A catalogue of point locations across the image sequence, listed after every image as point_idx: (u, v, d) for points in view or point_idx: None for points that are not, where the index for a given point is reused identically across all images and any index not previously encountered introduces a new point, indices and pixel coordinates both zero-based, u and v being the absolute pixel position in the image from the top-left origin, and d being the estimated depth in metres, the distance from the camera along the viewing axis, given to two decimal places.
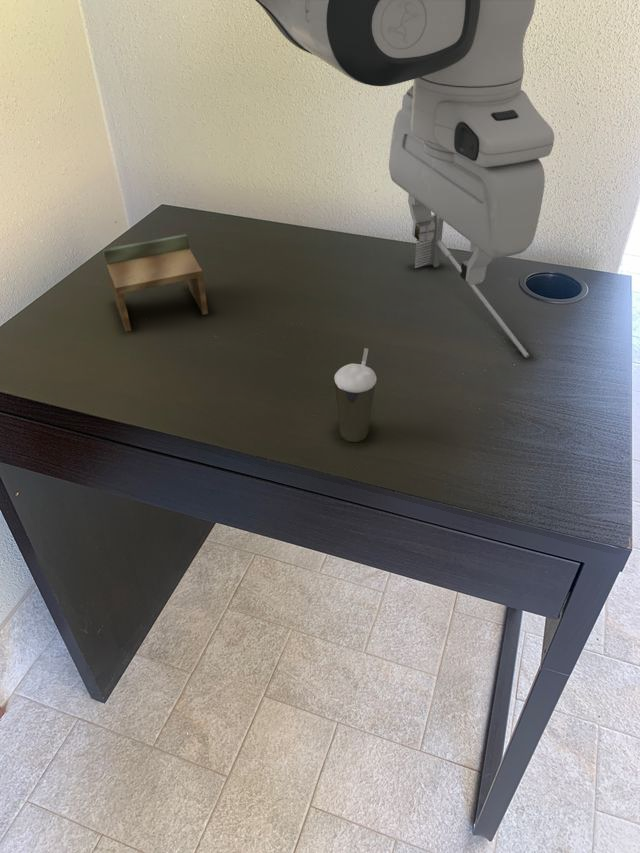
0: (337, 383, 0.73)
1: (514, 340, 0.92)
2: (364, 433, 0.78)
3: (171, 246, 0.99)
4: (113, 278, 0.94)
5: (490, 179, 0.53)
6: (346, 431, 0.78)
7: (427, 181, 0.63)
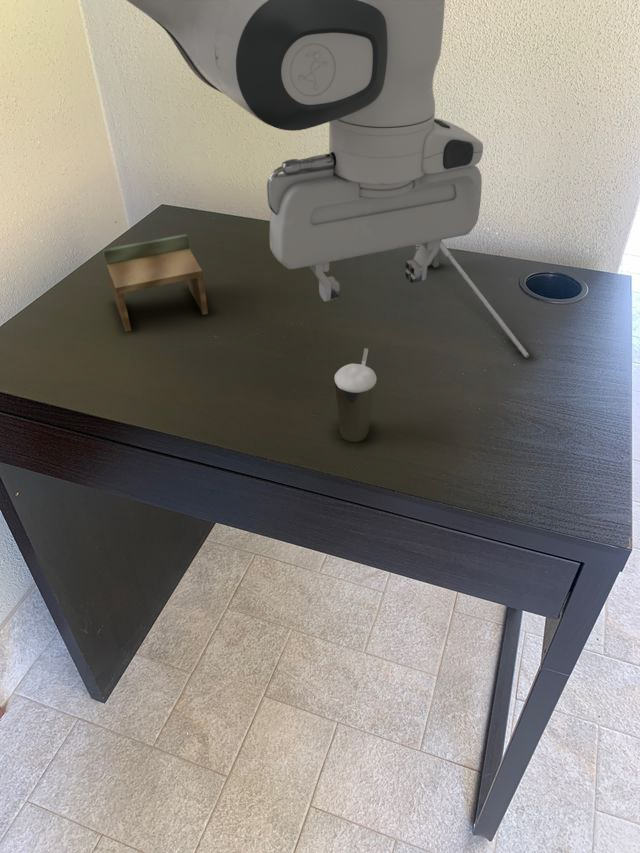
0: (337, 383, 0.73)
1: (514, 340, 0.92)
2: (364, 433, 0.78)
3: (171, 246, 0.99)
4: (113, 278, 0.94)
5: (477, 170, 0.61)
6: (346, 431, 0.78)
7: (366, 229, 0.61)
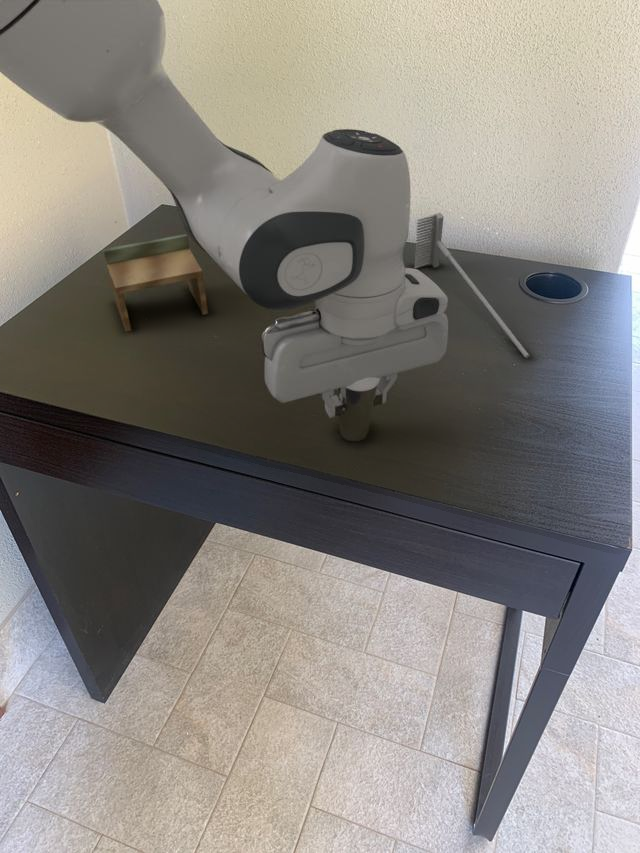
0: None
1: (514, 340, 0.92)
2: (364, 433, 0.78)
3: (171, 246, 0.99)
4: (113, 278, 0.94)
5: (443, 316, 0.71)
6: (347, 430, 0.77)
7: (348, 367, 0.71)
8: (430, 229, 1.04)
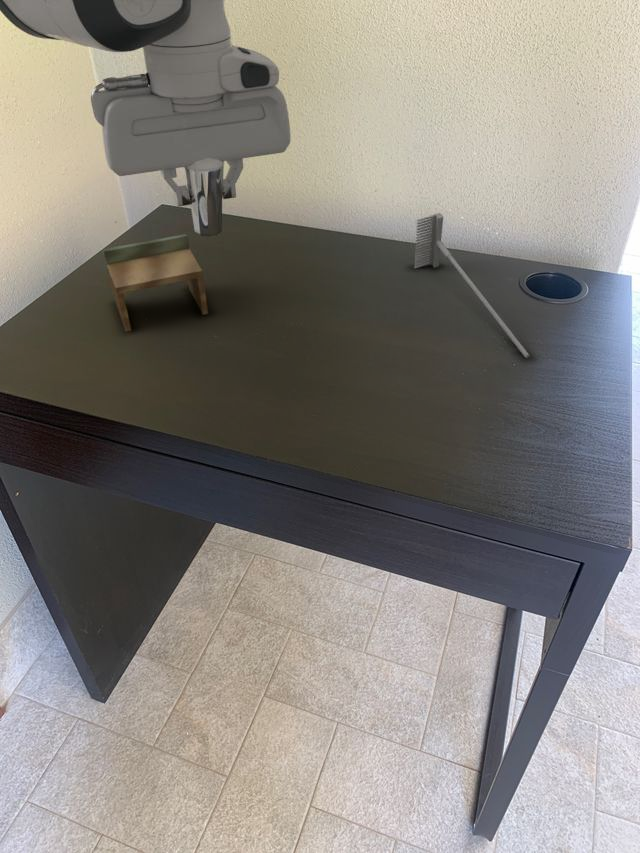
0: None
1: (514, 340, 0.92)
2: (215, 227, 0.79)
3: (171, 246, 0.99)
4: (113, 278, 0.94)
5: (278, 92, 0.72)
6: (197, 223, 0.79)
7: (185, 142, 0.72)
8: (430, 229, 1.04)
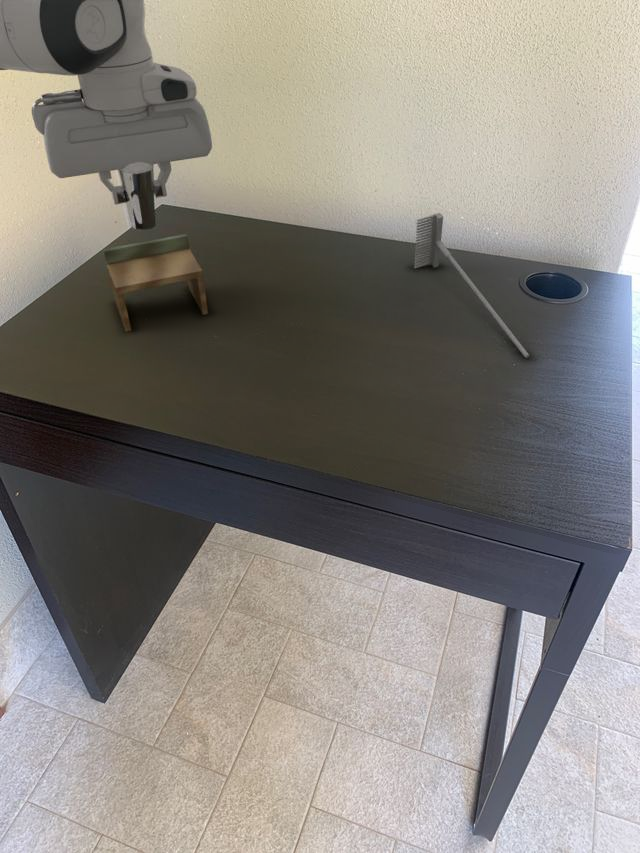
0: None
1: (514, 340, 0.92)
2: (149, 222, 0.90)
3: (171, 246, 0.99)
4: (113, 278, 0.94)
5: (197, 104, 0.83)
6: (132, 218, 0.90)
7: (117, 148, 0.83)
8: (430, 229, 1.04)
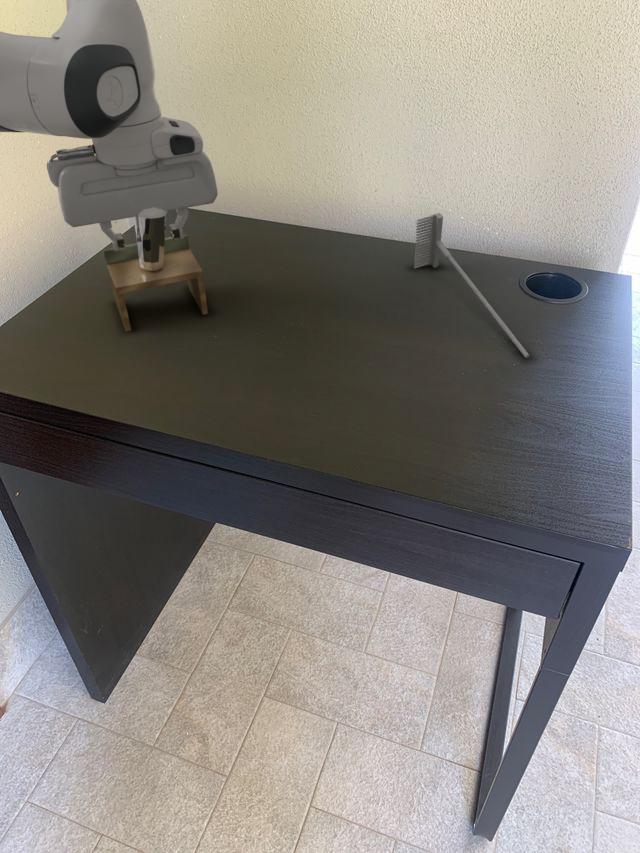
0: None
1: (514, 340, 0.92)
2: (157, 263, 0.94)
3: (171, 246, 0.99)
4: (113, 278, 0.94)
5: (204, 156, 0.87)
6: (142, 259, 0.94)
7: (127, 198, 0.87)
8: (430, 229, 1.04)
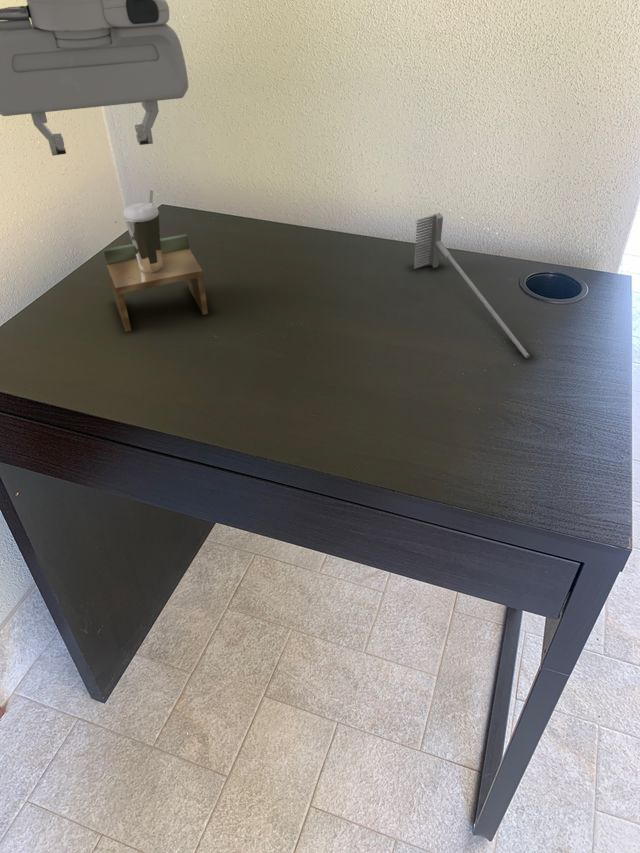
0: (124, 215, 0.90)
1: (514, 340, 0.92)
2: (157, 265, 0.94)
3: (171, 246, 0.99)
4: (113, 278, 0.94)
5: (171, 31, 0.69)
6: (141, 262, 0.94)
7: (73, 81, 0.69)
8: (430, 229, 1.04)
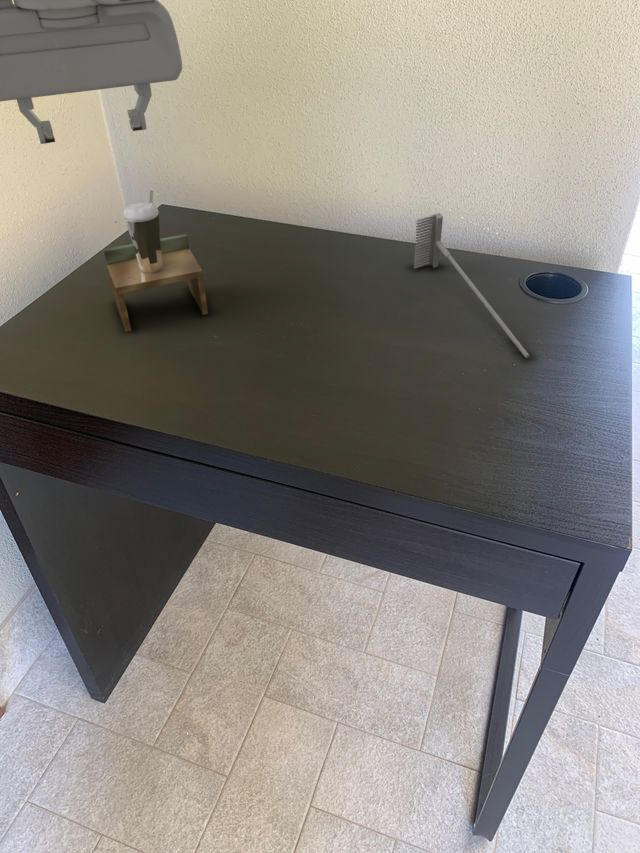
0: (124, 215, 0.90)
1: (514, 340, 0.92)
2: (157, 265, 0.94)
3: (171, 246, 0.99)
4: (113, 278, 0.94)
5: (161, 8, 0.65)
6: (141, 262, 0.94)
7: (59, 64, 0.65)
8: (429, 229, 1.04)
